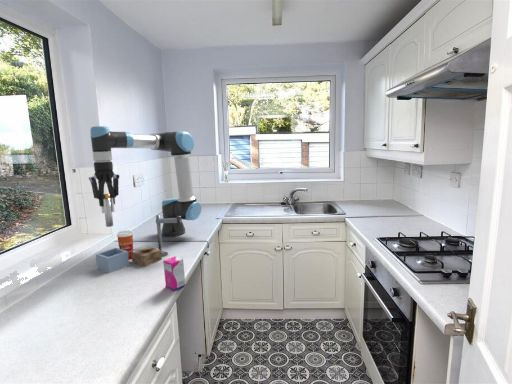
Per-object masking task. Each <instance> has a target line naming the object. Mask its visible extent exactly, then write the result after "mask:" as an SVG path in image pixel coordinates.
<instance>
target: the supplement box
mask: <svg viewBox="0 0 512 384" xmlns="http://www.w3.org/2000/svg"><path fill="white" fill-rule="evenodd" d="M162 263H163V271H164V272H163V274H164V281H165V288H167V289H170V290H171V291H173V292H174V291H177V290H179V289H181V288H183V287H185V286H186V277H185V264H184V258H181V257H178V256H172V257H169V258H168V259H164V260H163V262H162Z"/></svg>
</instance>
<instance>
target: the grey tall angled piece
mask: <svg viewBox="0 0 512 384" xmlns="http://www.w3.org/2000/svg"><path fill="white" fill-rule="evenodd" d="M160 216H161V215H160V214H156V215H155V224H156V232H157V245H158V246H157V247H158V249H160V250H161V253H162V252H163V251H164V250H163V241H162V235H161V230H162V227H161V224H163V223H181V216H176V218H163V217H162V218H161V217H160Z"/></svg>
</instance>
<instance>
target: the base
mask: <svg viewBox="0 0 512 384" xmlns="http://www.w3.org/2000/svg"><path fill="white" fill-rule="evenodd" d="M162 251H163V252H162V258H163V257H166V256H168V255H169V252H168V251H164V250H162Z"/></svg>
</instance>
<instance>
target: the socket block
mask: <svg viewBox="0 0 512 384" xmlns="http://www.w3.org/2000/svg"><path fill="white" fill-rule="evenodd" d="M131 255H132V259H131V262H132V263H134V264H137V265H139V266H143V267H147V266H150V265H151V264H155V263H157V262H159V261H161V260H163V257H162V253H161V250H160V249H159V248H156V247H151V246H146V247H143V248H140V249H137V250H135V251H134V250H133V252H132V253H131Z"/></svg>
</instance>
